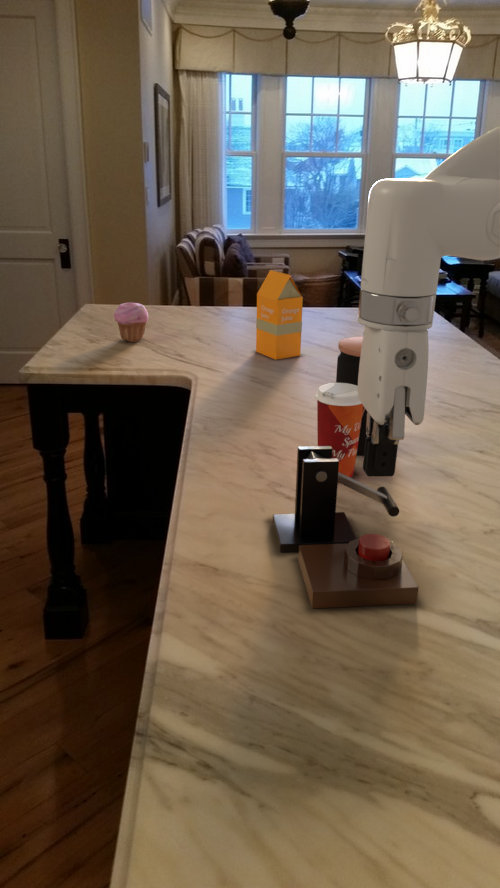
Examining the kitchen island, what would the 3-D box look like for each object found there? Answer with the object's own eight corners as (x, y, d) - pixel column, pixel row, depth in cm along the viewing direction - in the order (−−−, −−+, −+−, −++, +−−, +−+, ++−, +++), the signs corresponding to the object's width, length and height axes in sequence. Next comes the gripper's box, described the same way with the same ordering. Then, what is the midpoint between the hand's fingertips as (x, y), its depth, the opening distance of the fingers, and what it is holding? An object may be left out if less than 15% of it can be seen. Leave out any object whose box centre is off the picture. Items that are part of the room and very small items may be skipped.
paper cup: (341, 488, 106) (347, 400, 101) (301, 473, 111) (305, 389, 106) (370, 472, 112) (377, 388, 106) (331, 459, 117) (336, 378, 111)
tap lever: (381, 500, 96) (390, 486, 95) (393, 521, 90) (403, 506, 90) (299, 460, 92) (308, 445, 92) (307, 480, 87) (317, 464, 86)
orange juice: (280, 347, 182) (282, 268, 174) (300, 355, 175) (304, 274, 168) (255, 351, 178) (256, 271, 170) (275, 359, 171) (277, 276, 164)
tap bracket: (343, 519, 98) (349, 440, 93) (357, 549, 90) (364, 465, 86) (272, 521, 97) (274, 442, 92) (280, 552, 89) (283, 467, 85)
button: (384, 545, 84) (385, 532, 84) (392, 561, 81) (394, 548, 80) (354, 546, 84) (355, 534, 83) (362, 563, 81) (363, 549, 80)
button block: (392, 556, 89) (395, 529, 87) (416, 603, 80) (420, 573, 78) (298, 560, 88) (299, 532, 86) (312, 608, 78) (313, 578, 77)
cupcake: (109, 339, 187) (107, 301, 184) (136, 334, 193) (135, 297, 189) (128, 346, 181) (126, 307, 178) (155, 340, 187) (154, 303, 183)
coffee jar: (320, 447, 121) (326, 345, 114) (349, 429, 129) (356, 333, 122) (377, 462, 115) (387, 356, 108) (403, 442, 124) (414, 342, 117)
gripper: (458, 326, 65) (433, 503, 72) (409, 295, 79) (392, 447, 86) (379, 325, 64) (361, 505, 71) (343, 294, 78) (331, 447, 85)
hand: (378, 473), depth 78 cm, fingers closed
